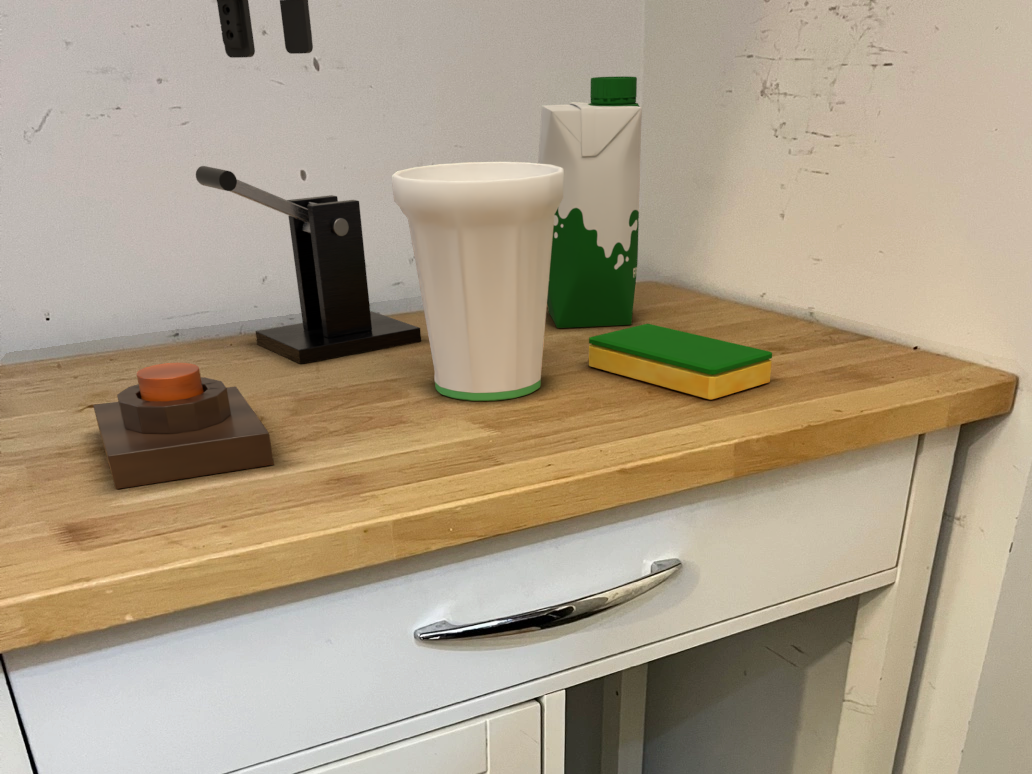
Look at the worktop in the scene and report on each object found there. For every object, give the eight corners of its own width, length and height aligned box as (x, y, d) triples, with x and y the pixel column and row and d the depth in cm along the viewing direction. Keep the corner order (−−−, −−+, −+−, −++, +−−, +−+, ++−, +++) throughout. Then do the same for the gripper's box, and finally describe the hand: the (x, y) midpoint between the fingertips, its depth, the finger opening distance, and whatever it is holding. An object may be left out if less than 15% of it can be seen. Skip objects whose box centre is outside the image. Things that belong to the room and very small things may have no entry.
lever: (216, 193, 85) (223, 161, 84) (192, 187, 89) (199, 156, 88) (349, 247, 93) (356, 218, 93) (322, 239, 97) (329, 211, 96)
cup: (475, 357, 94) (464, 158, 85) (597, 378, 87) (598, 165, 79) (376, 393, 85) (354, 176, 77) (503, 419, 79) (494, 185, 71)
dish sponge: (646, 351, 94) (647, 322, 93) (772, 383, 85) (775, 351, 84) (586, 366, 90) (586, 336, 89) (710, 401, 82) (712, 368, 80)
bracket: (300, 364, 93) (280, 213, 87) (257, 344, 99) (234, 202, 93) (421, 341, 99) (410, 198, 93) (373, 323, 105) (359, 188, 99)
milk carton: (643, 327, 102) (650, 78, 91) (546, 331, 101) (542, 81, 90) (626, 306, 109) (631, 74, 98) (536, 310, 108) (531, 77, 98)
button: (138, 393, 74) (133, 366, 73) (199, 385, 75) (194, 359, 74) (145, 409, 71) (139, 381, 70) (208, 400, 72) (203, 373, 71)
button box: (100, 435, 78) (86, 378, 76) (241, 415, 81) (231, 360, 79) (115, 489, 68) (100, 426, 66) (274, 465, 72) (264, 404, 70)
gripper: (248, -192, 85) (279, 53, 93) (129, -222, 73) (177, 59, 82) (333, -200, 82) (356, 52, 91) (223, -233, 71) (262, 58, 80)
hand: (271, 55), depth 87 cm, fingers open, 8 cm apart
